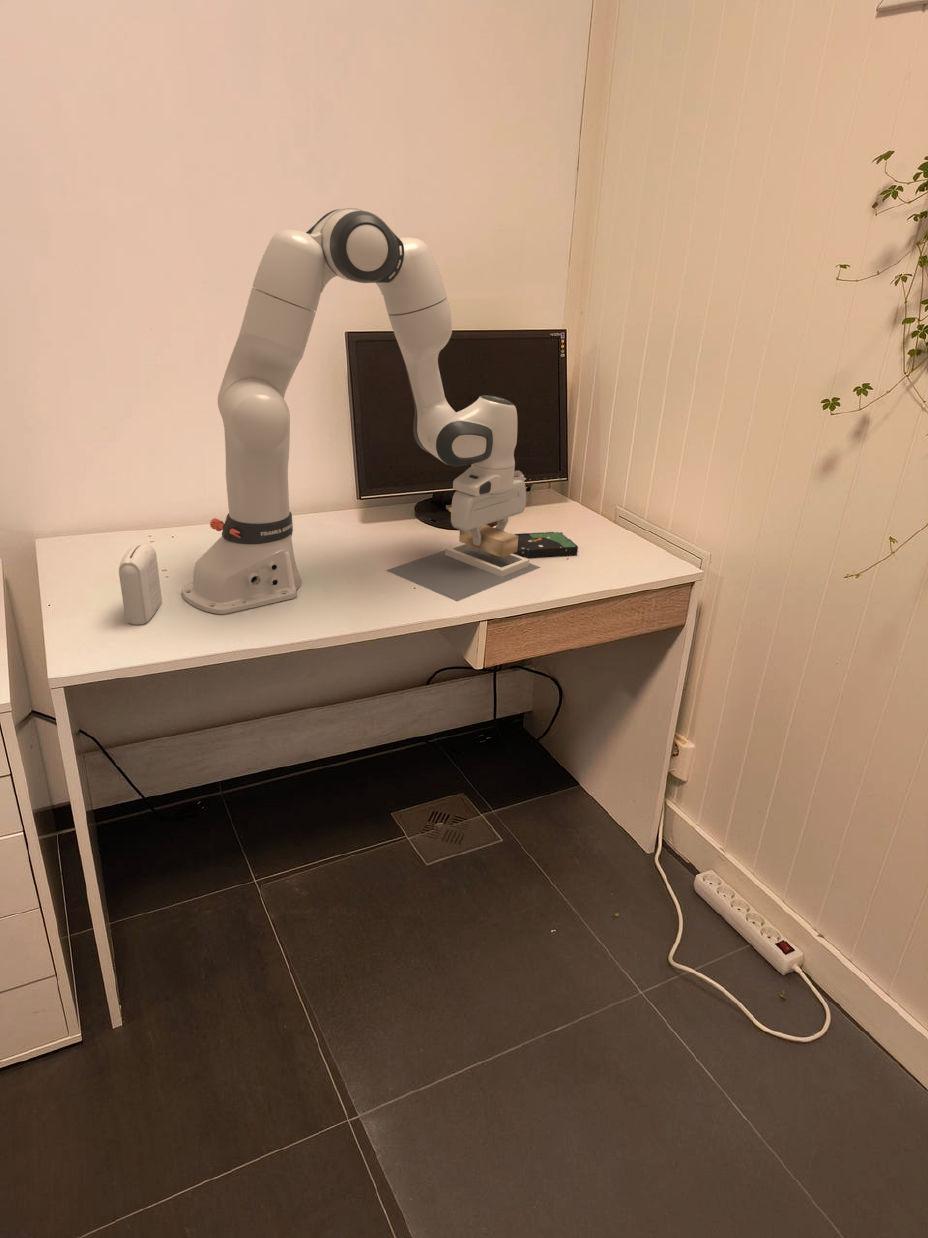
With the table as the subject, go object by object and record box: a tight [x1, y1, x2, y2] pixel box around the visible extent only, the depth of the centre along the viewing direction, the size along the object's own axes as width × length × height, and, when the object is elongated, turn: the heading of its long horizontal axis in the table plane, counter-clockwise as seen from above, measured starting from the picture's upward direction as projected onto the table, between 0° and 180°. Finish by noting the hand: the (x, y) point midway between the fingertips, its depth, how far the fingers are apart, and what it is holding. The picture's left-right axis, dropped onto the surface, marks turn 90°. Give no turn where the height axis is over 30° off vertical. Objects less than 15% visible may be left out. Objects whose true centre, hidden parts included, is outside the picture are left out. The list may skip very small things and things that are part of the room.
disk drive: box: [512, 531, 579, 560], centre depth 181 cm, size 10×3×15 cm
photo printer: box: [118, 542, 163, 626], centre depth 140 cm, size 10×4×12 cm, turn 3°
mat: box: [385, 542, 541, 602], centre depth 167 cm, size 26×20×2 cm
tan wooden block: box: [458, 524, 518, 557], centre depth 170 cm, size 12×5×4 cm, turn 47°
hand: (487, 540), depth 170 cm, fingers closed on tan wooden block, 5 cm apart
